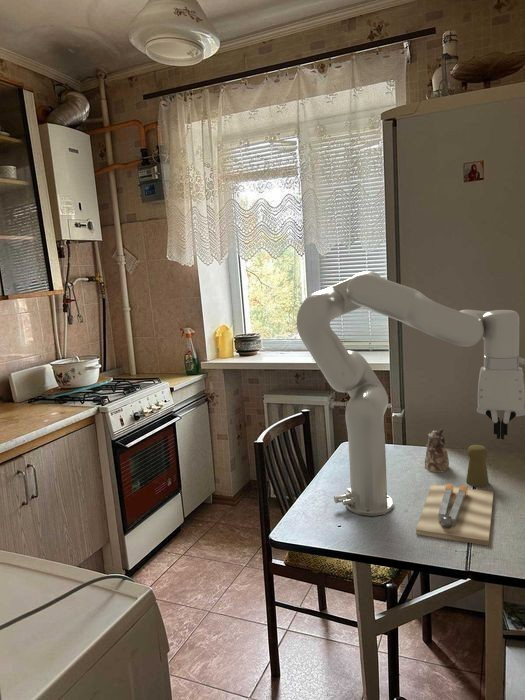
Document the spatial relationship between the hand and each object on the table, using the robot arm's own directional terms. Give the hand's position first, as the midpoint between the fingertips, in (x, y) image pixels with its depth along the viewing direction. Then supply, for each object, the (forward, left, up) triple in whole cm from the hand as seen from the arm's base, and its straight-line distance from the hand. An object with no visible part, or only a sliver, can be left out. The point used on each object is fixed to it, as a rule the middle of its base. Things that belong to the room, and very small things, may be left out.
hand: (500, 437), depth 126 cm
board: (-8, +6, -21) cm, 23 cm away
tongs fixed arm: (-10, +8, -20) cm, 23 cm away
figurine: (+4, +33, -21) cm, 39 cm away
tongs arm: (-9, +6, -20) cm, 22 cm away
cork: (+8, +19, -21) cm, 30 cm away
